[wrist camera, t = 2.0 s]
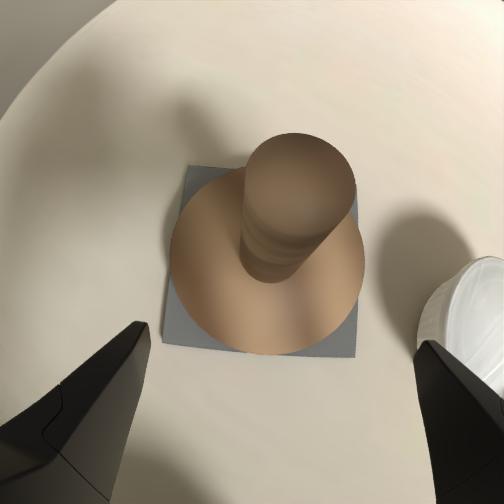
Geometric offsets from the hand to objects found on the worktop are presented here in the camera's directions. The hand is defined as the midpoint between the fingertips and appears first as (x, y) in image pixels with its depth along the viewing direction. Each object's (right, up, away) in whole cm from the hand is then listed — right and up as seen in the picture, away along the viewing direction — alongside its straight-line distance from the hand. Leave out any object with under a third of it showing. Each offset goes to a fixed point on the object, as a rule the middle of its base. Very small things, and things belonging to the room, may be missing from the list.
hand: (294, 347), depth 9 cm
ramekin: (+16, -4, +12) cm, 20 cm away
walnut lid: (0, +3, +12) cm, 13 cm away
